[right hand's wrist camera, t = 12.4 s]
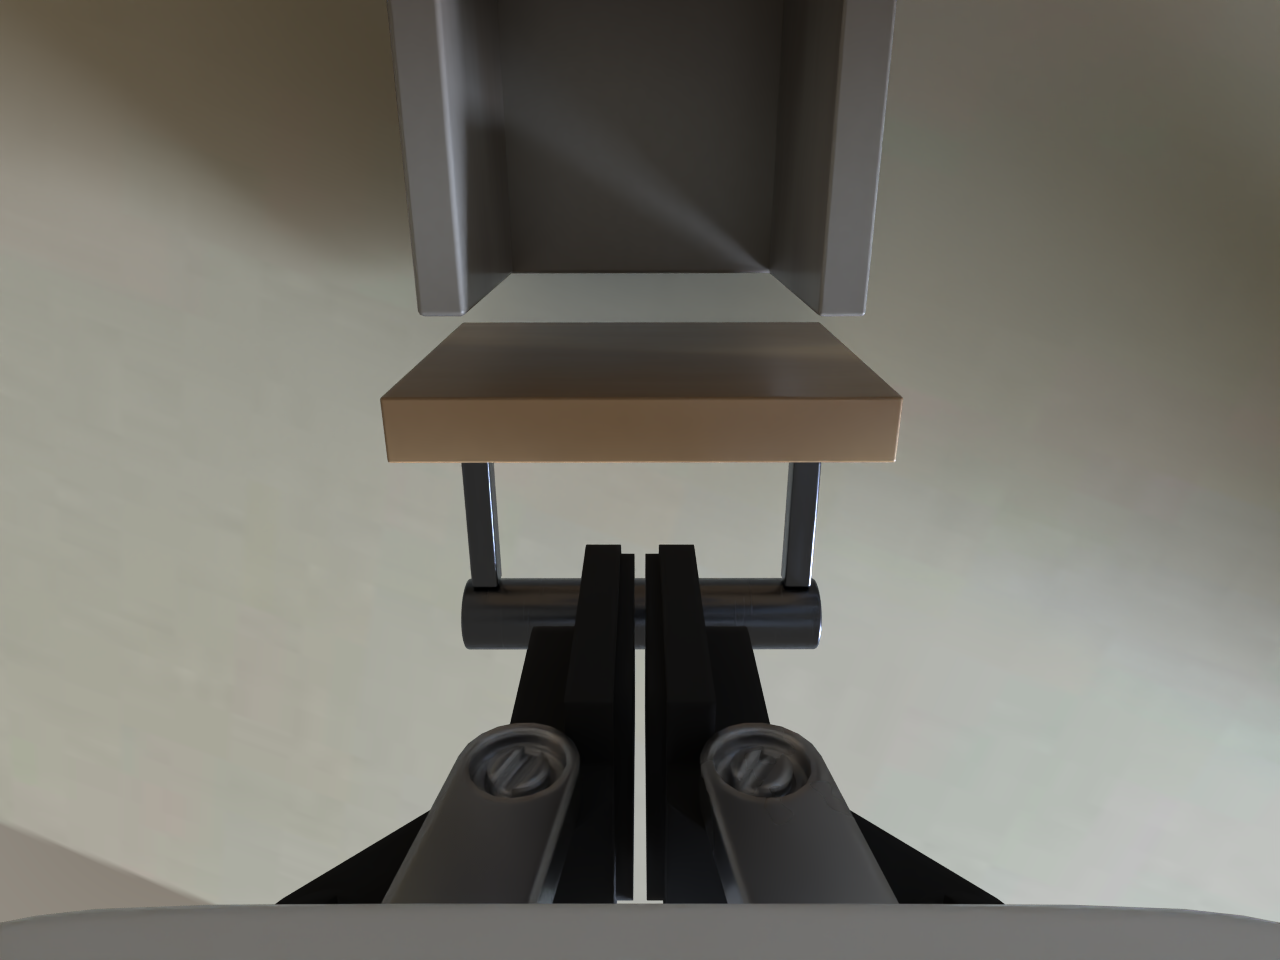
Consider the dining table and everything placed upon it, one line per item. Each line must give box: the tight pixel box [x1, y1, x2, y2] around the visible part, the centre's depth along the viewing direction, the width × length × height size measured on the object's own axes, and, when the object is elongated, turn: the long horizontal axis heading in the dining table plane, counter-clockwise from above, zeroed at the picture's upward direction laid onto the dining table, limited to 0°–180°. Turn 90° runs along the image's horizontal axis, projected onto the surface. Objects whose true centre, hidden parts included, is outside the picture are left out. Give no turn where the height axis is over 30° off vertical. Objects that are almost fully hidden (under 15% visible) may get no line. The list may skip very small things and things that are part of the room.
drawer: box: [380, 0, 903, 649], centre depth 16 cm, size 20×9×7 cm, turn 0°
